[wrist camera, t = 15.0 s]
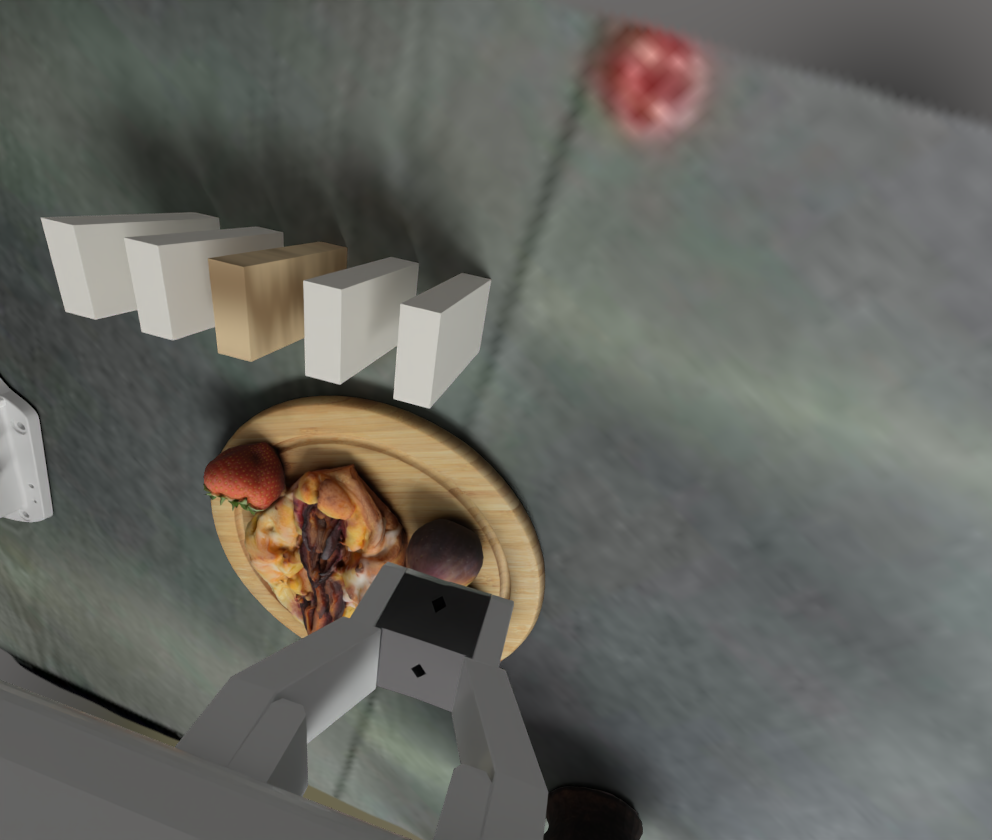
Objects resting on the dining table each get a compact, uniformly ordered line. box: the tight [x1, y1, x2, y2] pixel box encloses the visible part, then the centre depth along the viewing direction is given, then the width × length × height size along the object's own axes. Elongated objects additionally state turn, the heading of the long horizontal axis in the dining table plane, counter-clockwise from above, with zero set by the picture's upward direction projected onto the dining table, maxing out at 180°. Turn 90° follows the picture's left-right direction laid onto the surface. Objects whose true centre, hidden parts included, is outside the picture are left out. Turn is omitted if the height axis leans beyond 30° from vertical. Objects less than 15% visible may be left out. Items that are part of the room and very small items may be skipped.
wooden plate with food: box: [204, 396, 545, 661], centre depth 40 cm, size 32×32×8 cm
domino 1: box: [41, 212, 220, 320], centre depth 29 cm, size 5×2×10 cm, turn 170°
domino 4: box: [303, 257, 419, 385], centre depth 28 cm, size 5×2×10 cm, turn 170°
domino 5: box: [393, 273, 491, 409], centre depth 27 cm, size 5×2×10 cm, turn 170°
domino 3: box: [208, 241, 347, 362], centre depth 28 cm, size 5×2×10 cm, turn 170°
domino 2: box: [124, 226, 284, 340], centre depth 29 cm, size 5×2×10 cm, turn 170°
